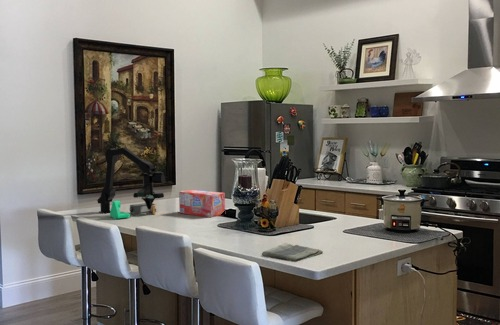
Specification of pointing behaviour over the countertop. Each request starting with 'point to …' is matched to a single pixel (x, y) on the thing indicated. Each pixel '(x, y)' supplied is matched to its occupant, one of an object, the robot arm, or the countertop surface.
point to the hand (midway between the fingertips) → (149, 209)
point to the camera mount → (117, 211)
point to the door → (154, 208)
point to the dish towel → (291, 252)
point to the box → (201, 203)
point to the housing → (140, 208)
